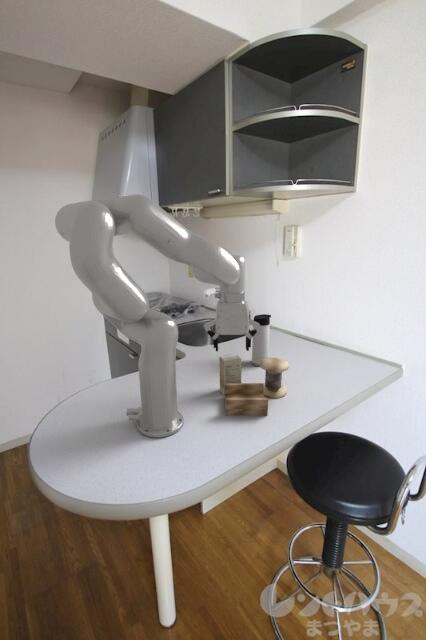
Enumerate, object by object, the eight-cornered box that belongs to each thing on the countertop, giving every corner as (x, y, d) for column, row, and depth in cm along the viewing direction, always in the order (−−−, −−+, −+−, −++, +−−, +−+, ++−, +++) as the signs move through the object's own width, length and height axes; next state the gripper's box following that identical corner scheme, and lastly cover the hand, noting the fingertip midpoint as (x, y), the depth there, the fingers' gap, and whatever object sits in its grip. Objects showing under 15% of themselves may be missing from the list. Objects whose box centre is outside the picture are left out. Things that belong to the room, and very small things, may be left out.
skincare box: (236, 386, 107) (237, 353, 104) (241, 392, 103) (242, 358, 100) (218, 389, 105) (218, 355, 102) (223, 396, 101) (223, 360, 98)
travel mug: (268, 367, 122) (270, 317, 116) (251, 366, 123) (252, 316, 117) (268, 361, 127) (271, 313, 122) (252, 359, 129) (254, 312, 123)
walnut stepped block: (225, 415, 91) (225, 400, 89) (224, 397, 100) (224, 383, 99) (267, 415, 91) (268, 400, 89) (262, 397, 100) (262, 383, 99)
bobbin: (260, 398, 100) (262, 369, 97) (257, 384, 108) (258, 357, 105) (289, 398, 100) (291, 369, 97) (283, 384, 108) (285, 357, 105)
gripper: (202, 300, 92) (204, 354, 97) (262, 299, 92) (261, 353, 97) (203, 294, 99) (205, 345, 104) (259, 293, 99) (257, 344, 104)
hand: (232, 349), depth 100 cm, fingers open, 9 cm apart
